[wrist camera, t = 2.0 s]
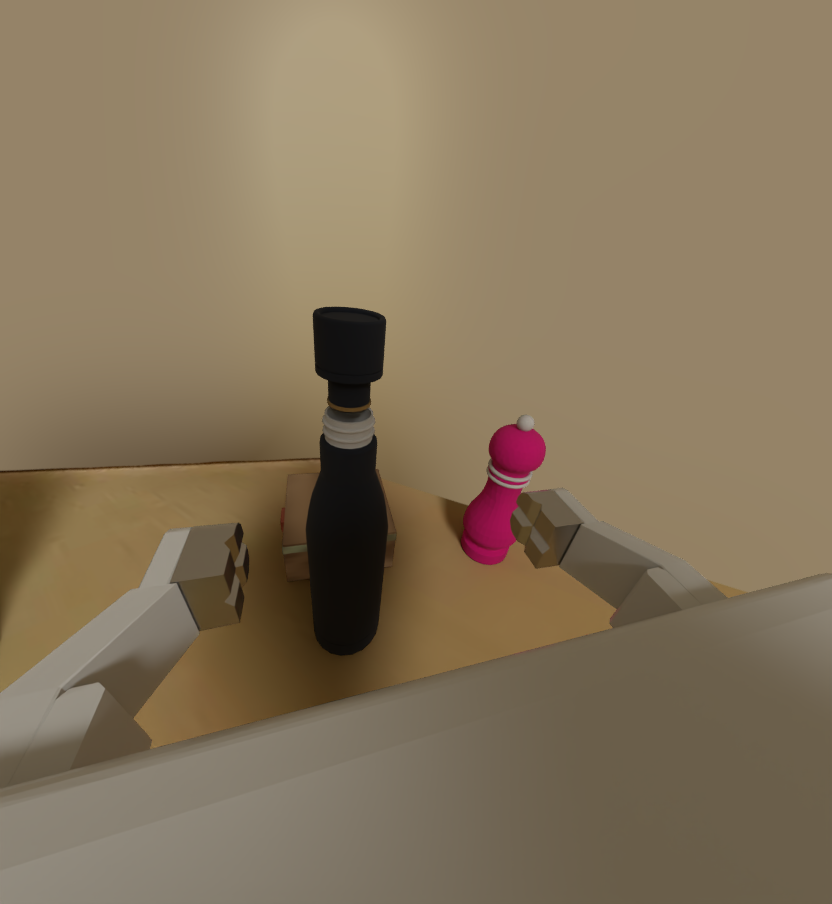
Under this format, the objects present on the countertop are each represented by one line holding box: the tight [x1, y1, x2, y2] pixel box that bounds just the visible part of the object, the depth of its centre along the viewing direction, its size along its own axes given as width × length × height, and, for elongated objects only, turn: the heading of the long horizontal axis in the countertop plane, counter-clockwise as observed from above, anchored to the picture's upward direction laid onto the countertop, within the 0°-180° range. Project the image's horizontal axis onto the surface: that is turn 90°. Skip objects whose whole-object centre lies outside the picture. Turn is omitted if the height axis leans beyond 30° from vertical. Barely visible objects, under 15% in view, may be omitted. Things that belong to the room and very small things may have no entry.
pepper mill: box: [461, 415, 546, 565], centre depth 39 cm, size 7×7×20 cm
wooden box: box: [281, 469, 396, 582], centre depth 42 cm, size 13×13×6 cm
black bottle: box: [305, 307, 388, 656], centre depth 25 cm, size 6×6×30 cm
